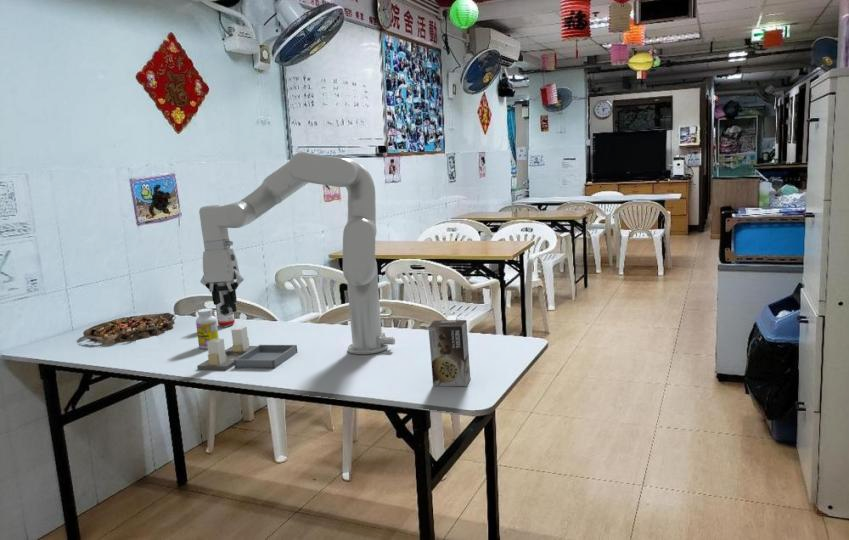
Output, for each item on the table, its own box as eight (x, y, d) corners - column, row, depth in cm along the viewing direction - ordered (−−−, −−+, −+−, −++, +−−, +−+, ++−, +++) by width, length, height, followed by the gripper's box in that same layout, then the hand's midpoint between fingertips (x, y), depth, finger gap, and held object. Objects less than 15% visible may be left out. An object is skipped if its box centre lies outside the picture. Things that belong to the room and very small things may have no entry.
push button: (222, 316, 199) (217, 284, 198) (212, 315, 202) (207, 284, 201) (240, 311, 204) (235, 280, 203) (230, 310, 208) (225, 279, 206)
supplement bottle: (194, 348, 221) (190, 311, 219) (208, 343, 227) (204, 307, 225) (209, 349, 218) (205, 312, 216) (223, 344, 224) (219, 308, 222)
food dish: (136, 349, 231) (132, 328, 229) (64, 348, 241) (59, 328, 240) (198, 321, 263) (195, 302, 262) (132, 321, 274) (128, 303, 272)
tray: (297, 352, 208) (296, 344, 208) (274, 368, 193) (273, 360, 193) (260, 352, 211) (259, 344, 211) (235, 368, 196) (234, 360, 196)
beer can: (238, 324, 253) (233, 283, 250) (225, 328, 248) (220, 286, 245) (227, 322, 256) (222, 282, 254) (214, 326, 251) (209, 286, 248)
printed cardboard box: (471, 378, 172) (467, 319, 170) (466, 387, 166) (462, 325, 164) (437, 378, 175) (433, 319, 172) (431, 386, 169) (427, 325, 166)
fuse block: (260, 349, 215) (258, 325, 213) (227, 370, 195) (223, 343, 193) (233, 349, 217) (230, 325, 216) (197, 369, 197) (194, 343, 196)
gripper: (247, 242, 201) (255, 300, 204) (199, 245, 206) (207, 301, 209) (235, 246, 194) (243, 305, 197) (185, 249, 198) (194, 307, 201)
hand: (225, 302), depth 203 cm, fingers closed on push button, 4 cm apart
